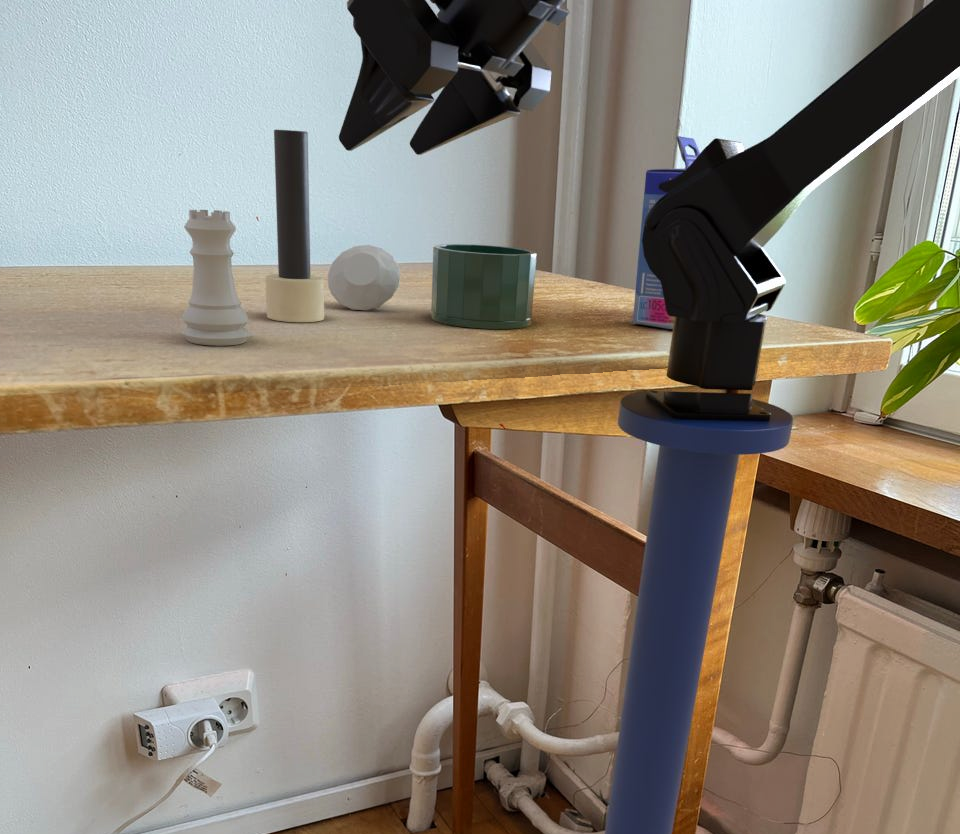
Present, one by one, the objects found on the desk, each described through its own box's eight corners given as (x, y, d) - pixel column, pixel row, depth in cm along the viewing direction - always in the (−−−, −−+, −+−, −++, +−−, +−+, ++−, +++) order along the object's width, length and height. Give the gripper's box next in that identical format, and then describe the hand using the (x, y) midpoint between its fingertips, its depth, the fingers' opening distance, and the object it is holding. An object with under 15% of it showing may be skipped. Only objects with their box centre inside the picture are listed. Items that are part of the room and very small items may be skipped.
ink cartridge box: (670, 313, 91) (694, 139, 85) (727, 321, 89) (756, 142, 82) (625, 324, 83) (648, 133, 77) (686, 332, 81) (715, 136, 74)
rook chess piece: (264, 340, 67) (259, 213, 63) (222, 349, 63) (215, 214, 60) (211, 332, 68) (203, 207, 65) (168, 340, 65) (157, 209, 61)
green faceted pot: (540, 330, 78) (546, 256, 75) (436, 327, 76) (439, 251, 74) (521, 314, 85) (526, 246, 82) (426, 311, 83) (428, 242, 81)
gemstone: (403, 268, 87) (395, 232, 82) (407, 330, 85) (400, 298, 80) (334, 275, 87) (322, 240, 82) (337, 337, 86) (326, 305, 81)
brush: (324, 323, 75) (321, 132, 69) (265, 321, 74) (258, 128, 68) (323, 314, 79) (321, 132, 73) (268, 312, 78) (261, 129, 72)
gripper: (524, -120, 66) (382, 65, 75) (377, -212, 51) (222, 33, 60) (620, 18, 67) (468, 184, 76) (503, -33, 52) (330, 183, 61)
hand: (380, 147), depth 68 cm, fingers open, 9 cm apart
